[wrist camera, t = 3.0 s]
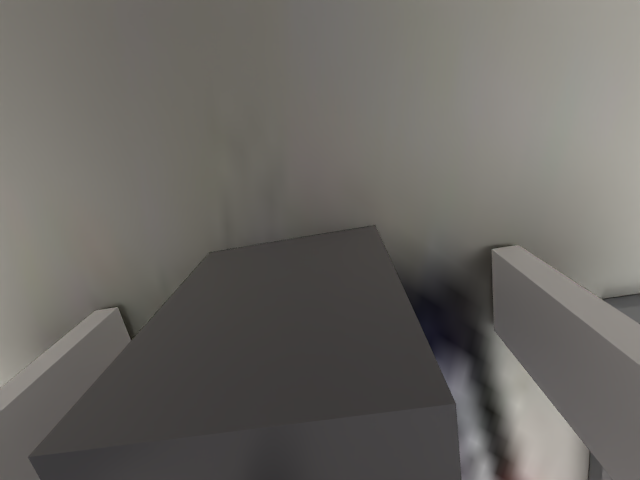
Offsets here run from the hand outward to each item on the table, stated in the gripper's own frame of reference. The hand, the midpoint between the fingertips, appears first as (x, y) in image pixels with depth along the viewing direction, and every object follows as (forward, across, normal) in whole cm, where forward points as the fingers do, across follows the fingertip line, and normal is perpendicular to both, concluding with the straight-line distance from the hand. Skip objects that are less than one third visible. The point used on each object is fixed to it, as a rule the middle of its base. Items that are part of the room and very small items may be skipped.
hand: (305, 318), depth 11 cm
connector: (0, 0, 0) cm, 0 cm away
